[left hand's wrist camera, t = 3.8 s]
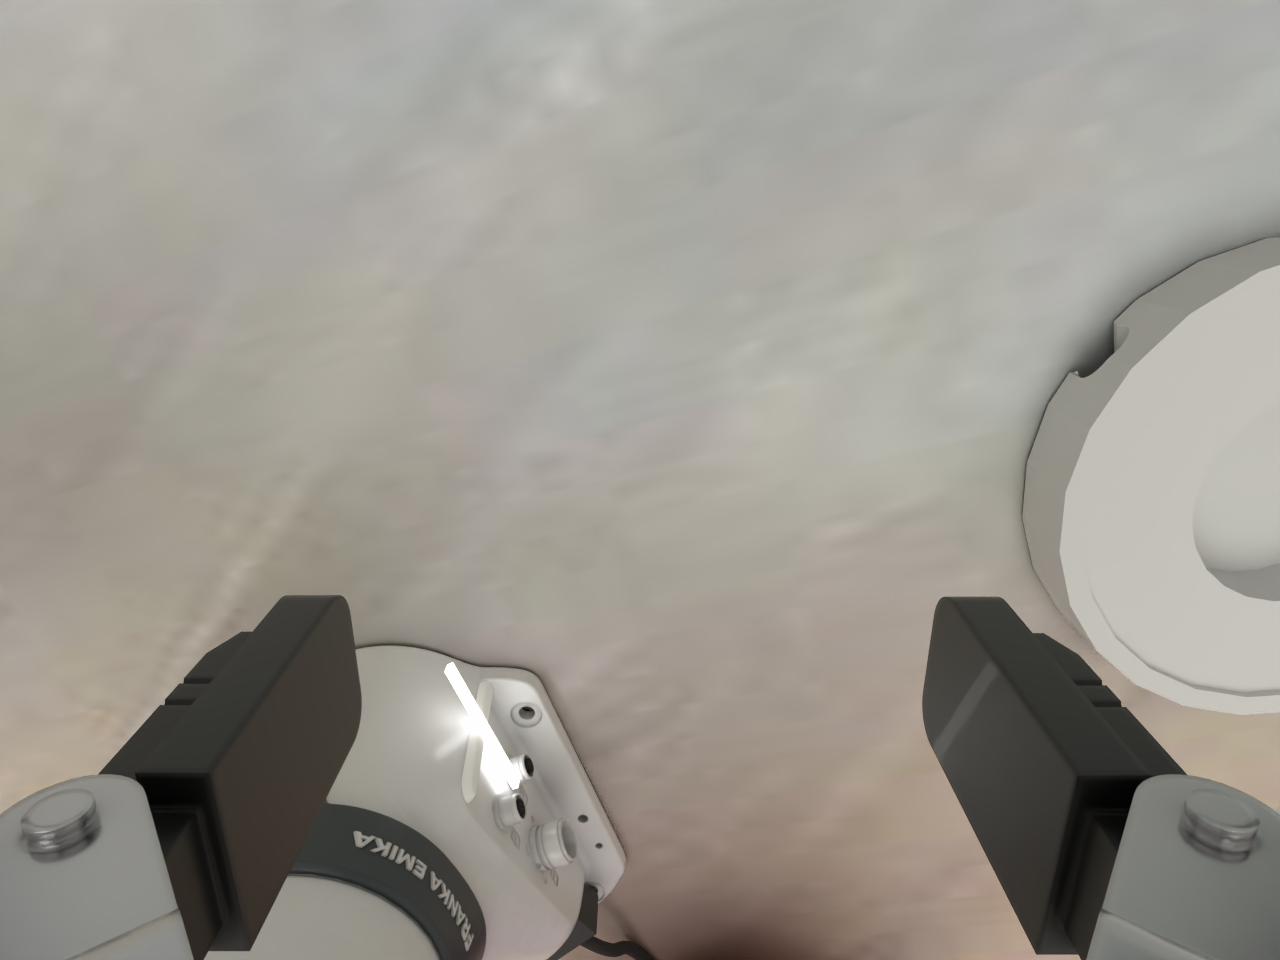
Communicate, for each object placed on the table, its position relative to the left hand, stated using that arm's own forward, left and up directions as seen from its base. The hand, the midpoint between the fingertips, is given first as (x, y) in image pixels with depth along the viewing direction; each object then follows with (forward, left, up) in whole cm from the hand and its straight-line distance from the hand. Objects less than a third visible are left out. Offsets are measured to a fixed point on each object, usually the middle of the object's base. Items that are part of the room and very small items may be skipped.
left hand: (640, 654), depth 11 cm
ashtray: (+8, +31, -29) cm, 43 cm away
